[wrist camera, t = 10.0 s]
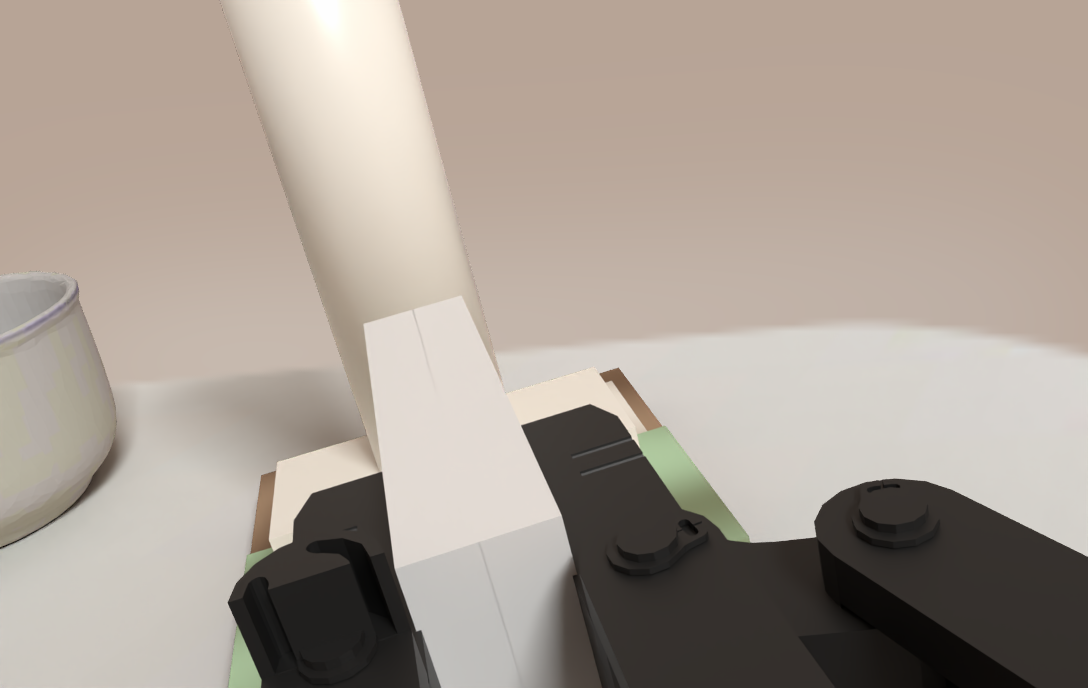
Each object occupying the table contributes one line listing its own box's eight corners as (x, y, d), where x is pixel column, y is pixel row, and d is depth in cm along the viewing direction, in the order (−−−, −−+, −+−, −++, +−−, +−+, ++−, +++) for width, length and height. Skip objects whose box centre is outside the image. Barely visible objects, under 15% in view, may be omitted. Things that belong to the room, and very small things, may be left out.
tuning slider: (650, 496, 24) (466, -347, 18) (296, 608, 23) (-45, -236, 17) (608, 428, 28) (443, -290, 21) (301, 523, 27) (23, -197, 20)
